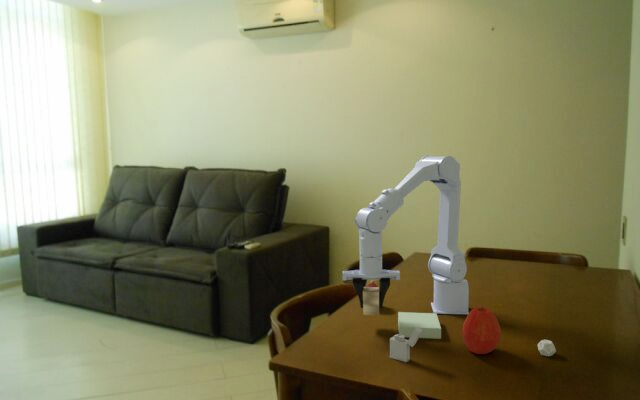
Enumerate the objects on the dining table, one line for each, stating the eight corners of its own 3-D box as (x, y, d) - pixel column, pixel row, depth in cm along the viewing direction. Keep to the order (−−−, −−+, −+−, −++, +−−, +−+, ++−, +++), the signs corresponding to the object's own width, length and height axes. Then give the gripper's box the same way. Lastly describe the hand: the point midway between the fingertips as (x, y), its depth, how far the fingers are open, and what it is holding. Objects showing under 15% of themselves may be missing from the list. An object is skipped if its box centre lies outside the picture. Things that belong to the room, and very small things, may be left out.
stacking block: (436, 324, 117) (436, 313, 117) (441, 340, 107) (441, 328, 107) (398, 322, 118) (398, 312, 118) (399, 338, 109) (399, 326, 108)
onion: (381, 311, 126) (381, 284, 125) (361, 310, 127) (361, 283, 126) (383, 304, 131) (382, 278, 131) (363, 303, 133) (363, 277, 132)
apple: (496, 363, 94) (497, 314, 93) (457, 354, 99) (458, 308, 98) (503, 348, 101) (504, 303, 100) (466, 340, 106) (467, 297, 104)
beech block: (379, 309, 116) (379, 287, 115) (379, 315, 112) (379, 292, 111) (363, 308, 116) (363, 286, 116) (363, 314, 112) (363, 291, 112)
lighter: (389, 357, 98) (389, 322, 97) (392, 354, 99) (393, 320, 98) (419, 366, 94) (419, 330, 93) (422, 362, 95) (423, 327, 94)
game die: (547, 359, 96) (548, 346, 95) (533, 352, 99) (533, 339, 99) (559, 356, 97) (559, 343, 97) (544, 349, 100) (545, 336, 100)
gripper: (397, 251, 116) (397, 301, 117) (342, 251, 117) (343, 301, 118) (401, 257, 109) (401, 310, 110) (342, 258, 110) (343, 310, 111)
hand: (371, 306), depth 114 cm, fingers closed on beech block, 4 cm apart
